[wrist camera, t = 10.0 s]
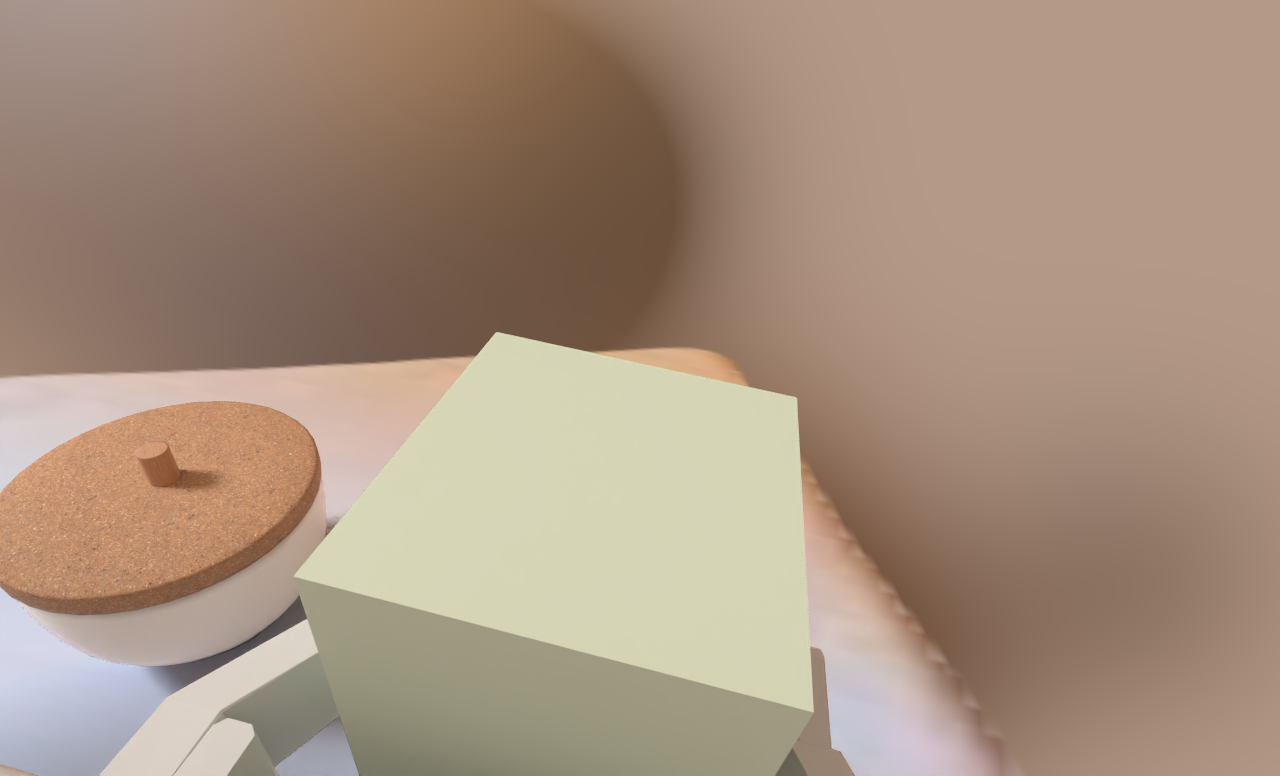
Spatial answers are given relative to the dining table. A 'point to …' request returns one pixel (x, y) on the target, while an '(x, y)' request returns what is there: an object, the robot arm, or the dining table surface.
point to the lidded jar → (165, 531)
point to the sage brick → (573, 578)
